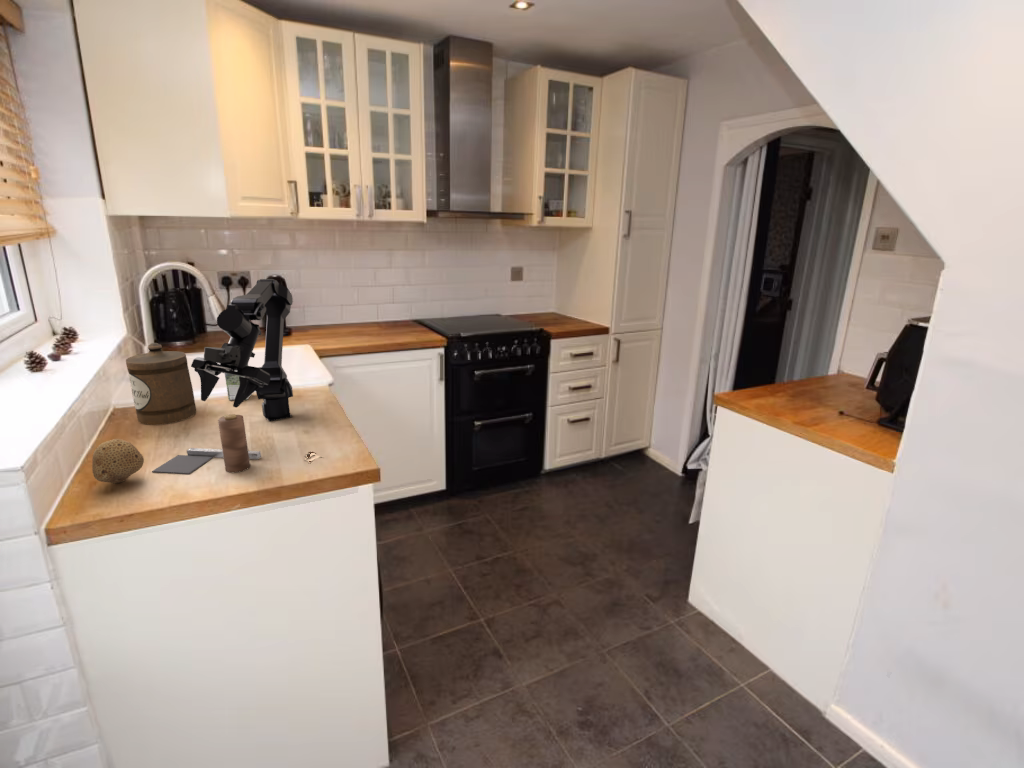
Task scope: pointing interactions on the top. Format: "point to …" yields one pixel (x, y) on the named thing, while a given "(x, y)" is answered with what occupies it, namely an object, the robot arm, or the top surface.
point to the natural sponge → (116, 461)
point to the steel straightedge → (218, 453)
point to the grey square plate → (182, 464)
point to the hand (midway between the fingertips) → (218, 403)
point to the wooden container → (161, 386)
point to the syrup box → (232, 385)
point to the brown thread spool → (234, 443)
